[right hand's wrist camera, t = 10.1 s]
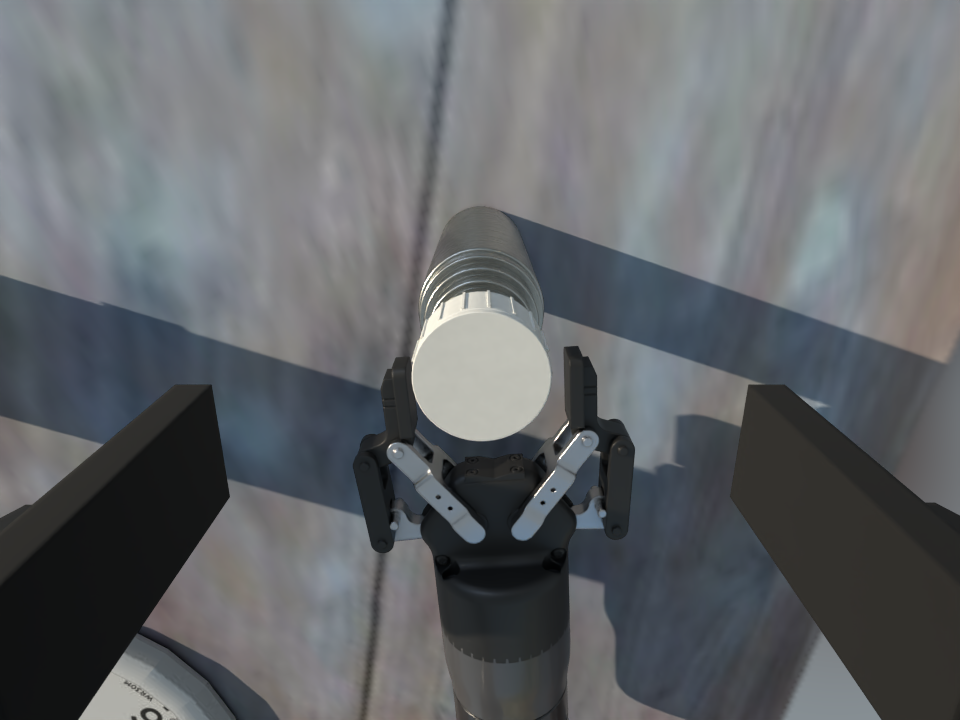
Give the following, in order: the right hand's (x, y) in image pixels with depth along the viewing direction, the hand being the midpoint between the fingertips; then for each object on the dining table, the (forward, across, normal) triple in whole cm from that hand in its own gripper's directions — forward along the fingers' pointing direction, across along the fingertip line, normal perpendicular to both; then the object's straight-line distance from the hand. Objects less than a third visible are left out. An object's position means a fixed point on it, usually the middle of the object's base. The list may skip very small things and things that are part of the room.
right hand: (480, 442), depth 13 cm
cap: (+4, 0, 0) cm, 4 cm away
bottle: (+23, 0, 0) cm, 23 cm away
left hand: (+17, 0, +4) cm, 17 cm away
